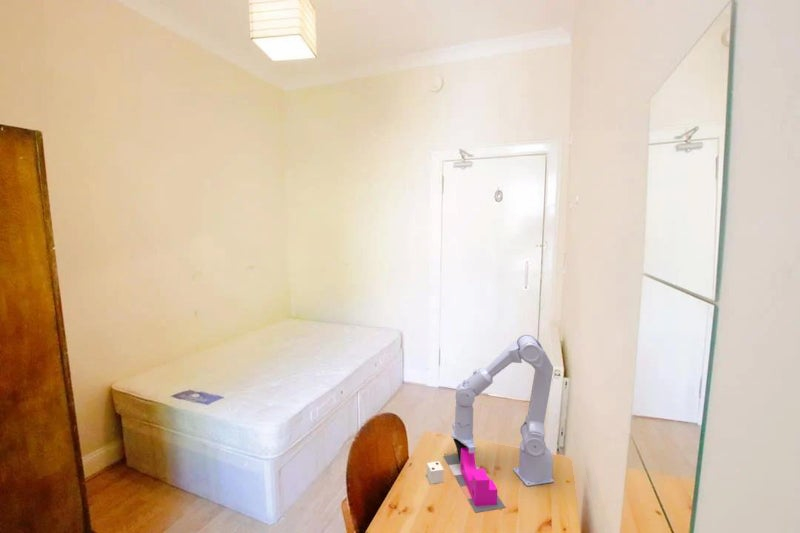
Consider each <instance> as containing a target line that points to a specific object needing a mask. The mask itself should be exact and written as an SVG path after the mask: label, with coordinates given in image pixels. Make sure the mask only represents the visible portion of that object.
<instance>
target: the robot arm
mask: <svg viewBox="0 0 800 533" xmlns="http://www.w3.org/2000/svg"><path fill="white" fill-rule="evenodd" d="M522 360H523V361H524V362H525V363H527V364H529V365H531V367H533V369H534V374H533V381H532V385H531V386H532V387H531V392H530V398H529V405H528V410H527V415H525V417H524V418H525V419H524V422H523V423H522V424H521V426H520V434H521V438H522V441H521V442H520V444H519V455H518V457H519V460H518V467H517V466H516V467H513V468H512V470H513V472H514V473H515V474H516V475H517V476H518V477H519V479H520V481H521V482H522V483H523V484H524V485H525V486H526V487H531V486H538V485H542V484H550V483H554V482H555V481H554V480H555V479H553V467H554V458H553V455H552V452H551V450H550V449H549V447H547V445H546V442H545V432H546V431H545V420H546V413H547V408H548V404H549V403H548V402H549V396H550V390H551V386H552V385H551V384H552V379H553V374H554V373H553V371H554V365H552V362H551V361H550V359H549V357H548V355H547V353H546V350H545V349H544V348H543V346H542V344H541V343H540V342H539V341H538V340H537V338H535V337H534V336H533V335H531V334H523V335H521V336H519V337H518V338H517V340H514V341H512V342H511V344H509V346H507V348H505V349H504V350H503V351H502V352H501V353H500V354H499V355H498V356H497V357H496V358H495V359H494V360H493V361H492V362H491V363H490V364H489V365H487V367H485V368H482V367H481V368H479V369H474V370H473V371H472V374H471V375H470V376H469V377H468V378H467V379H466V380H465V379H464V380H463V381H462V382H461V383H459V384H457V386H456V389H455V390H456V391H455V410H454V411H455V413H454V416H455V417H454V422H452V423H451V424H452V430H453V432H452V433H451V434H450V436H451V438H452V440H453V441H454V445H455V448H456V453H457V454H458V458H459V461H460V459H461V448H469V453H474V454H476V452H477V446H476V444H475V438H474V433H473V432H474V429H473V427H474V406H473V405H474V403H475V398H476V397H478V396H479V395H481V393H483V392H484V391H485V390H486V389H487V388H488V387H490V386H491V385H492V384H493V382H494V380H493V378H494V377H495V376H497V374H498V375H499V373H500V372H501V371H503V370H505V369H506V368H507V367H508V366H510V365H511V364H512V363H516V364H518V363H519V364H522V363H523V361H522Z"/></svg>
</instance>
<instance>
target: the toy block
mask: <svg viewBox="0 0 800 533" xmlns="http://www.w3.org/2000/svg"><path fill="white" fill-rule="evenodd" d="M476 465H477V464H476V459H475V453H469V448H461V459H460V471H461V474H462V476H463V478H464V481H465V483H466V485H467V488H468V490H469V493H470V495H471V497H472V500H473V502H474V505H475V506H487V505H497V495H498V491H499V490H498V488H497V487H496V484H495V482H494V480H493V479H490V478H489V476H488V474H487V472H486V468H479V469H477V468H476Z"/></svg>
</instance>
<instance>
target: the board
mask: <svg viewBox="0 0 800 533" xmlns="http://www.w3.org/2000/svg"><path fill="white" fill-rule="evenodd" d="M443 459H444V460H445V462H446V464H447V465H448V467H449V469H450V471H451V473H452V474H453V475H454V478H455V477H456V478H455V479H456V481H457V483H458V485H459V486H460V488H461V490H462V492H463V493H464V495H465V497H466V499H467V501H468V502H469V504H470V506H471V508H472V510H473V512H474V513H475V514H478V513H483V512H484V513H485V512H490V511H495V510H500V509H506V505H505V504H504V503H503V502H502V500H501V499H500V497H499V495H498V494H497V505H487V506H475V505H474V502H473V500H472V497H471V495H470V493H469V490H468V488H467V485H466V483H465V481H464V478H463V476H462V474H461V471H460V461H459V458H458V453H457V454H448V455H446V454H445V455H444V456H443ZM476 468H477V469H480V468H479V467H478V465H477V464H476Z"/></svg>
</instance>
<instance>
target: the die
mask: <svg viewBox="0 0 800 533" xmlns="http://www.w3.org/2000/svg"><path fill="white" fill-rule="evenodd" d="M444 472H445V471H444V467H443V466H442V464H441V462H440V461H431V462H430V461H429V462H427V463H426V477H427V479H428V481H429V484H430V485H432V484H439V483H444Z"/></svg>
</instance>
